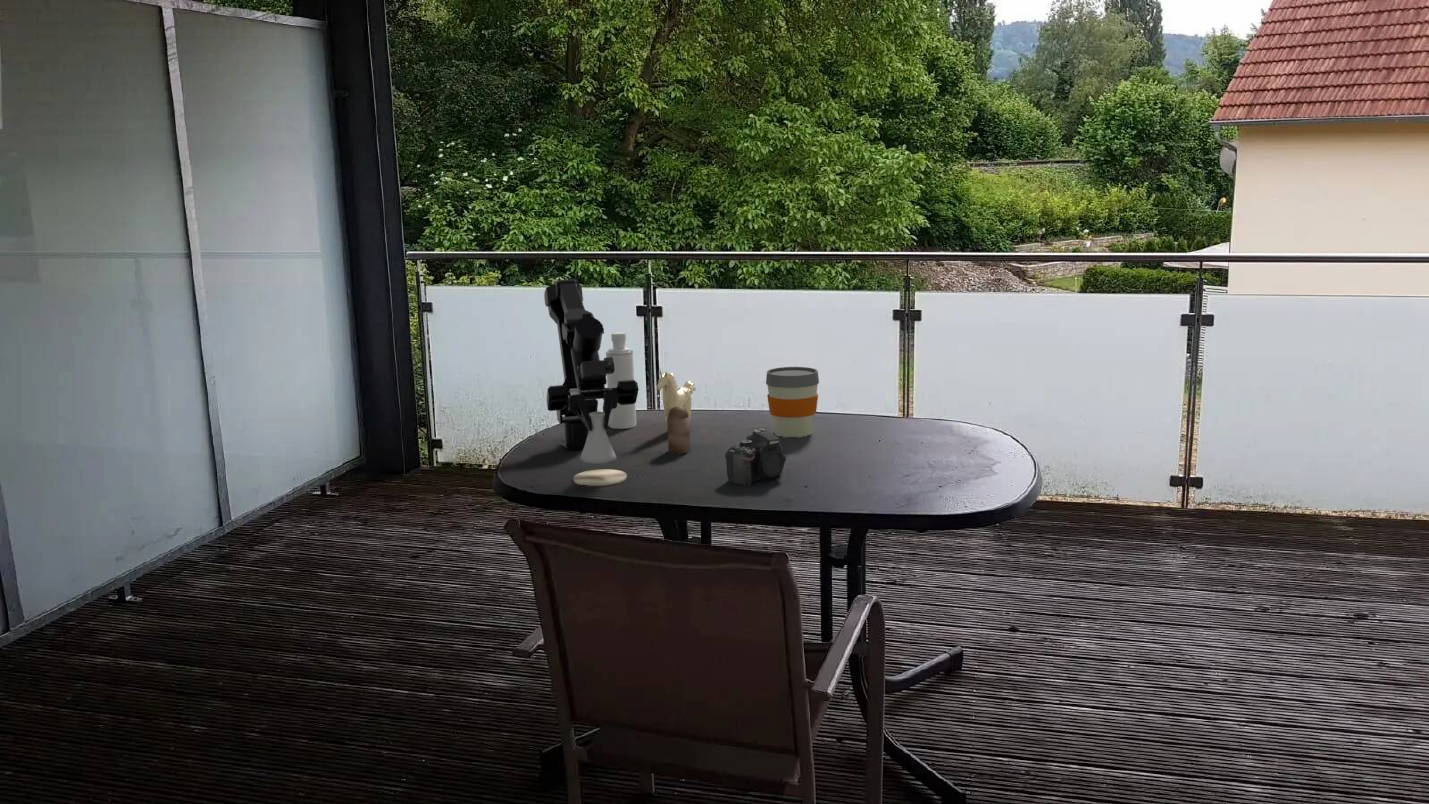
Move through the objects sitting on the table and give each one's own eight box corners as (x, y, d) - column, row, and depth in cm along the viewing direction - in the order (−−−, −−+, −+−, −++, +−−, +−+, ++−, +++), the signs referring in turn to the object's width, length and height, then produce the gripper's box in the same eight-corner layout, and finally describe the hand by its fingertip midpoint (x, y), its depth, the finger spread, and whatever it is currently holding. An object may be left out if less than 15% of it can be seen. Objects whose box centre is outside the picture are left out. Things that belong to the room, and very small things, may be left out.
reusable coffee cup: (828, 430, 274) (828, 368, 271) (804, 441, 264) (803, 377, 261) (783, 425, 281) (781, 365, 278) (757, 436, 271) (755, 373, 268)
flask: (595, 466, 232) (593, 418, 230) (573, 460, 237) (571, 413, 235) (623, 459, 237) (621, 412, 235) (601, 454, 242) (599, 407, 240)
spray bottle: (635, 428, 282) (630, 328, 277) (608, 429, 282) (603, 328, 277) (637, 422, 289) (633, 324, 284) (610, 423, 289) (606, 325, 284)
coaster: (568, 475, 241) (568, 472, 241) (619, 469, 244) (619, 467, 244) (580, 488, 231) (580, 486, 231) (632, 482, 234) (632, 479, 234)
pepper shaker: (665, 450, 260) (663, 405, 258) (686, 447, 262) (685, 403, 259) (672, 455, 255) (670, 409, 253) (693, 452, 257) (691, 407, 255)
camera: (762, 489, 227) (761, 440, 225) (721, 483, 232) (719, 435, 230) (796, 473, 237) (795, 427, 235) (756, 468, 243) (755, 422, 241)
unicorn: (688, 421, 289) (685, 354, 285) (702, 422, 287) (700, 354, 284) (652, 439, 271) (649, 368, 267) (667, 440, 269) (664, 368, 266)
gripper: (545, 347, 233) (555, 411, 225) (634, 341, 238) (648, 404, 230) (542, 378, 242) (552, 441, 234) (629, 372, 247) (641, 433, 239)
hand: (598, 429), depth 234 cm, fingers closed on flask, 3 cm apart
